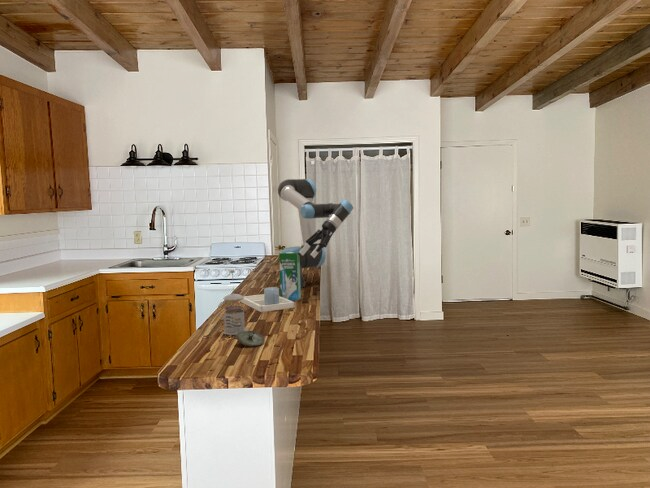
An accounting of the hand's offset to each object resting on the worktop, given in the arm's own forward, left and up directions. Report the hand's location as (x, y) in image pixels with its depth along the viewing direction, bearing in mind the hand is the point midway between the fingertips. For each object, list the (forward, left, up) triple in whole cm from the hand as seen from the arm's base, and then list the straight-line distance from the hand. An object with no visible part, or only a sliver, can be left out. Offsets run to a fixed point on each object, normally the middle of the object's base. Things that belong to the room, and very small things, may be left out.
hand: (306, 255), depth 272 cm
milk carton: (0, -10, -23) cm, 25 cm away
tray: (+7, -26, -23) cm, 35 cm away
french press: (+44, -55, -23) cm, 74 cm away
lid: (+65, -55, -23) cm, 88 cm away
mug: (+15, -26, -22) cm, 37 cm away
